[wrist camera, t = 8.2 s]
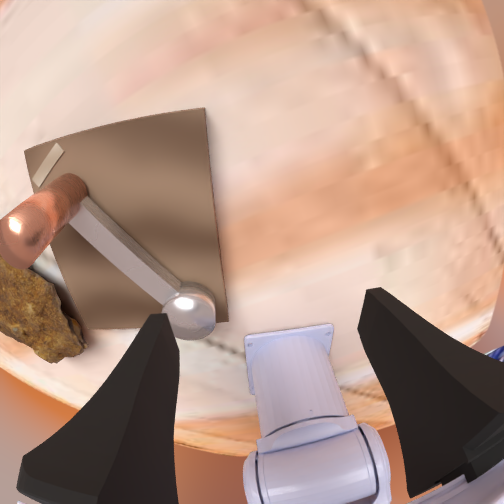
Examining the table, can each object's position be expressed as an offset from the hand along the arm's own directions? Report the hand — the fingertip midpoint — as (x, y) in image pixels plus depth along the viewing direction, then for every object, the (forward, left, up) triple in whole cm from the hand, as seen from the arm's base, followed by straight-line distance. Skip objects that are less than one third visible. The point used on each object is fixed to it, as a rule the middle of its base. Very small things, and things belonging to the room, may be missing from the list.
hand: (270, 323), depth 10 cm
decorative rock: (-5, +21, -11) cm, 24 cm away
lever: (-1, +8, -9) cm, 12 cm away
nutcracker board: (-1, +8, -10) cm, 13 cm away
